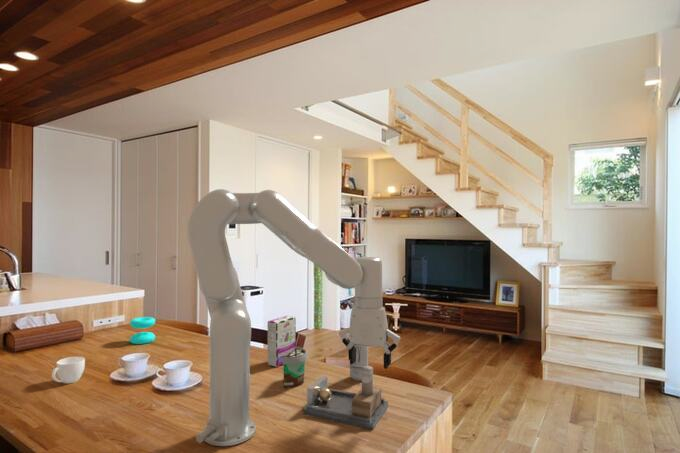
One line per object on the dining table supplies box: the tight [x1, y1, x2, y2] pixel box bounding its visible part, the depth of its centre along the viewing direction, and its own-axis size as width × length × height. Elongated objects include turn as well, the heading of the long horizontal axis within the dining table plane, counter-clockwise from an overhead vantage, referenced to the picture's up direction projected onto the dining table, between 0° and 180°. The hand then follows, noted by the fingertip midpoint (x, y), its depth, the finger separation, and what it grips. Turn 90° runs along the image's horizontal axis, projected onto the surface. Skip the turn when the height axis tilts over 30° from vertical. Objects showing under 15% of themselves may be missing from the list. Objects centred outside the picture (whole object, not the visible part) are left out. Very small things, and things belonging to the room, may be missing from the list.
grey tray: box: [302, 375, 389, 430], centre depth 112 cm, size 14×20×6 cm
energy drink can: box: [349, 345, 369, 382], centre depth 136 cm, size 6×6×15 cm
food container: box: [282, 346, 309, 389], centre depth 131 cm, size 12×6×10 cm, turn 168°
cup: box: [51, 356, 86, 384], centre depth 130 cm, size 8×10×7 cm
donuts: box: [129, 316, 156, 345], centre depth 175 cm, size 10×10×10 cm
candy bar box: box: [267, 315, 297, 368], centre depth 151 cm, size 11×5×16 cm, turn 148°
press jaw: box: [352, 365, 382, 417], centre depth 109 cm, size 10×5×11 cm, turn 157°
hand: (369, 364), depth 110 cm, fingers open, 9 cm apart
